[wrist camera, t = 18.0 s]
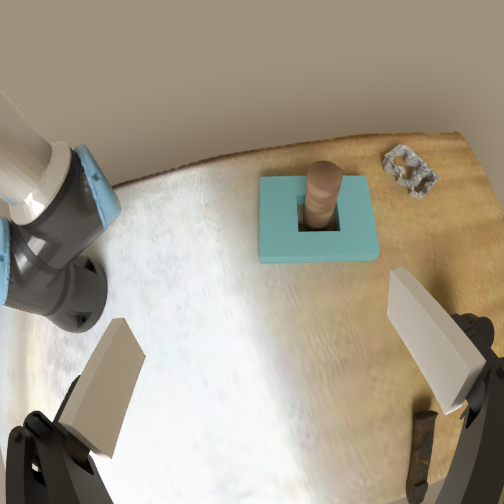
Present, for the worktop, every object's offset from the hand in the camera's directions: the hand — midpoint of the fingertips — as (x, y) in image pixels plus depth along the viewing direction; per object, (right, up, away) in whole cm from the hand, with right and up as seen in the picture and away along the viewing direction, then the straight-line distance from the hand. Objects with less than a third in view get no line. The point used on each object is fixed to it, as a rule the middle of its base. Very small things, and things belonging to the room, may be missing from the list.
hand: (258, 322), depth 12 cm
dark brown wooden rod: (+27, -30, +15) cm, 43 cm away
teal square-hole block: (+10, +8, +31) cm, 34 cm away
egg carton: (+29, +18, +33) cm, 48 cm away
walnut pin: (+10, +8, +31) cm, 34 cm away
